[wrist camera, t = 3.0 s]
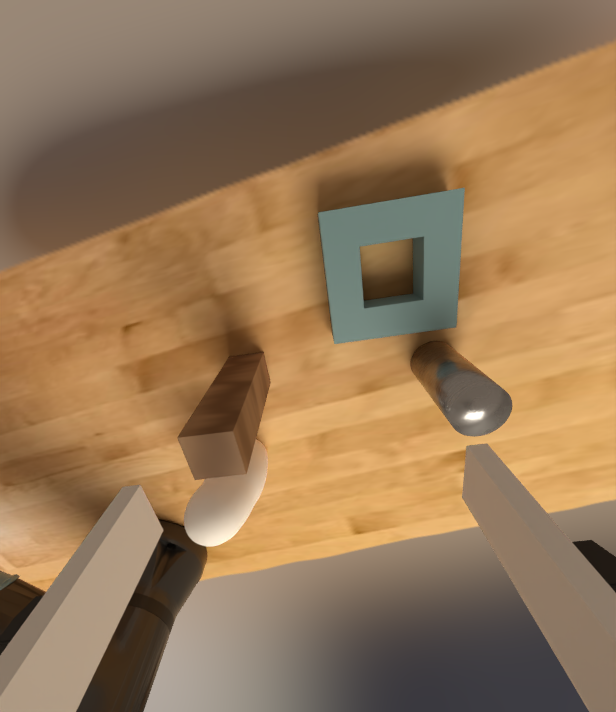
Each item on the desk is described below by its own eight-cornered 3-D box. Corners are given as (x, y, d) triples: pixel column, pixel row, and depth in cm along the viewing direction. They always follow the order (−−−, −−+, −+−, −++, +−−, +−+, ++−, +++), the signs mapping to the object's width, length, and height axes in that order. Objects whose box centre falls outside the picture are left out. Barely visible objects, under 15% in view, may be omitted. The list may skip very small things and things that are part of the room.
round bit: (410, 383, 34) (448, 439, 25) (410, 344, 32) (451, 390, 23) (453, 377, 34) (508, 432, 25) (456, 338, 32) (516, 381, 23)
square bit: (237, 386, 34) (194, 479, 22) (229, 356, 33) (177, 437, 20) (270, 382, 34) (246, 474, 21) (263, 352, 33) (232, 431, 20)
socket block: (332, 334, 32) (334, 343, 29) (317, 214, 27) (318, 212, 24) (443, 318, 31) (456, 327, 28) (448, 192, 26) (464, 187, 23)
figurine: (214, 427, 37) (174, 510, 26) (273, 436, 37) (258, 522, 26) (211, 468, 40) (174, 559, 29) (266, 476, 40) (249, 569, 29)
